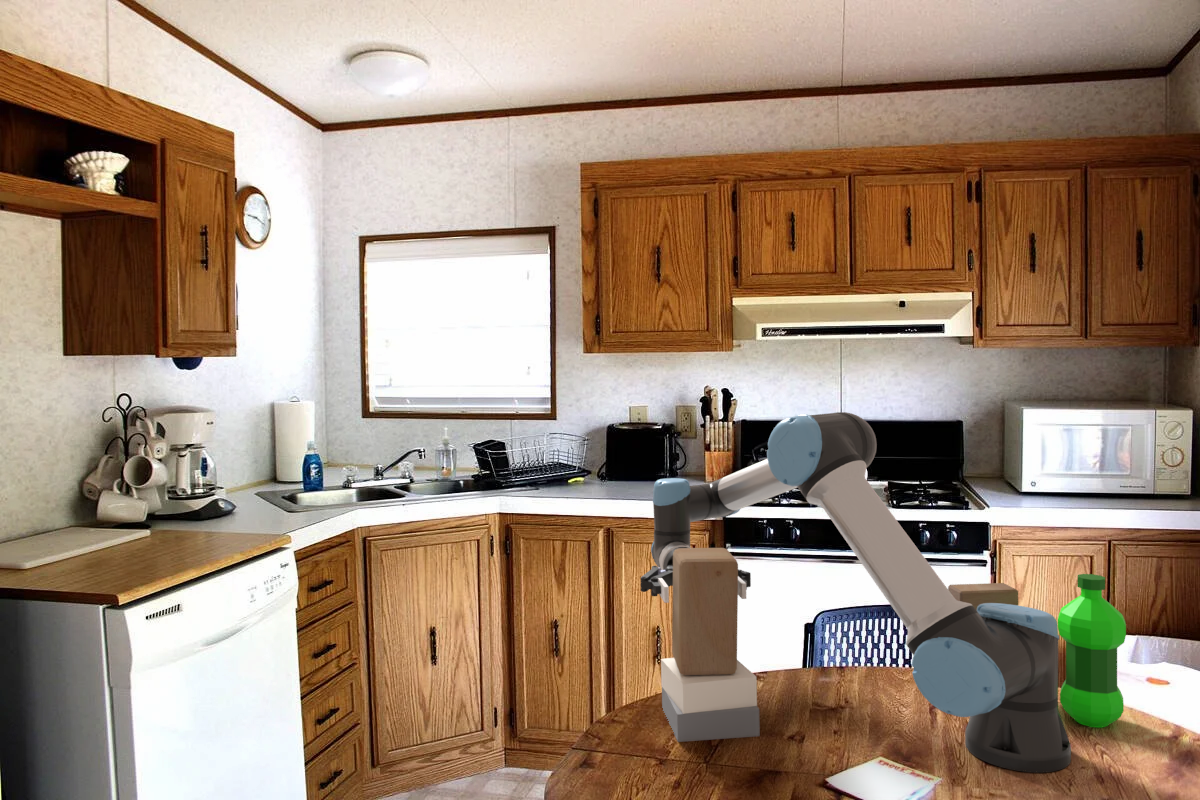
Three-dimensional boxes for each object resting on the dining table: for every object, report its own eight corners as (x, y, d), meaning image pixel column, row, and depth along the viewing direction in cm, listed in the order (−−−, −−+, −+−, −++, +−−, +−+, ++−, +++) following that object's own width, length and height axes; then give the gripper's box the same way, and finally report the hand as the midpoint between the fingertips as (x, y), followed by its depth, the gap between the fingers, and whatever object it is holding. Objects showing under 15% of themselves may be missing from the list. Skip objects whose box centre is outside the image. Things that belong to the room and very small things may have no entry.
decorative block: (960, 699, 159) (960, 591, 159) (947, 687, 165) (946, 584, 164) (1020, 697, 160) (1019, 590, 159) (1005, 686, 165) (1004, 582, 165)
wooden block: (737, 676, 147) (739, 560, 146) (679, 677, 146) (680, 560, 145) (726, 655, 157) (727, 546, 156) (671, 656, 156) (672, 546, 155)
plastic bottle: (1115, 739, 141) (1115, 587, 140) (1047, 720, 149) (1047, 576, 148) (1135, 721, 148) (1136, 576, 147) (1069, 704, 156) (1069, 567, 155)
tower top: (756, 705, 147) (756, 676, 147) (683, 713, 144) (682, 684, 144) (729, 679, 159) (729, 652, 159) (661, 686, 157) (661, 658, 157)
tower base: (759, 738, 146) (759, 708, 145) (677, 744, 144) (677, 714, 144) (737, 706, 160) (736, 679, 159) (662, 711, 158) (661, 684, 158)
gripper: (743, 581, 172) (776, 610, 151) (618, 587, 169) (634, 618, 148) (743, 543, 171) (775, 568, 150) (618, 548, 169) (633, 574, 148)
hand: (705, 593), depth 149 cm, fingers open, 13 cm apart
